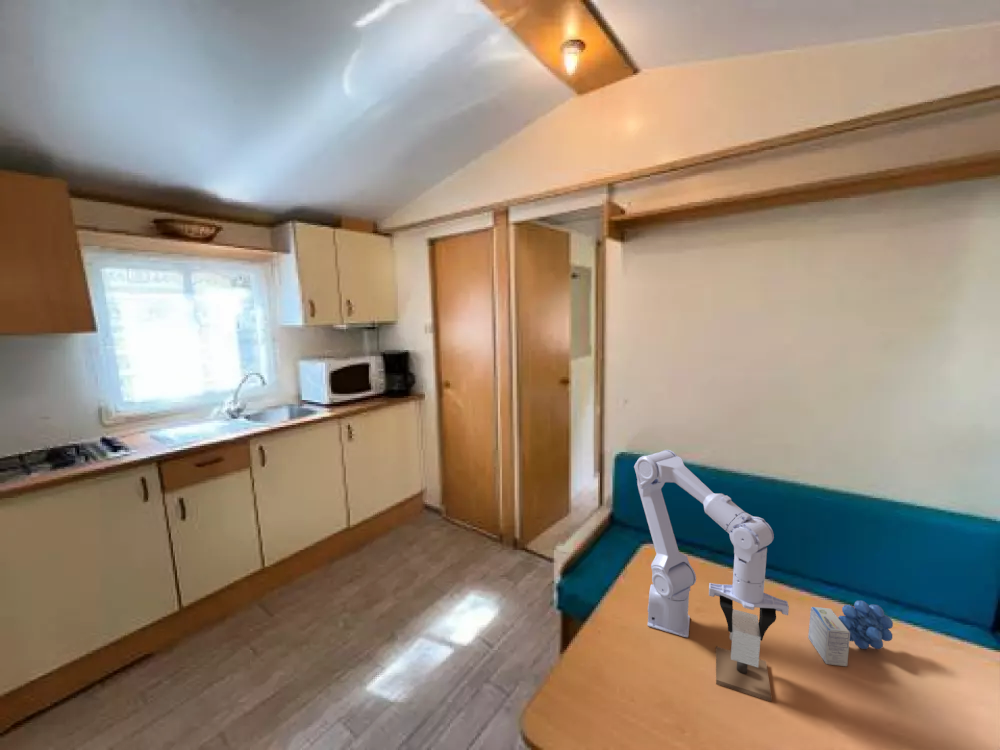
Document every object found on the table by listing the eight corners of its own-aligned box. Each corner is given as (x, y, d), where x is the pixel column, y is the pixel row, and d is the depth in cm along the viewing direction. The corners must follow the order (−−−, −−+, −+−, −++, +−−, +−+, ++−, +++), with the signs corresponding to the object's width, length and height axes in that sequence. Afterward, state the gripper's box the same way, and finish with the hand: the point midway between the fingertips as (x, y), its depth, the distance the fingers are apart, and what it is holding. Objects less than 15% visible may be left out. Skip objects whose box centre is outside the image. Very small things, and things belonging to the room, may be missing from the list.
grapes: (847, 661, 96) (853, 613, 94) (828, 638, 103) (833, 593, 101) (904, 665, 94) (911, 616, 93) (881, 641, 101) (887, 596, 99)
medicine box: (847, 667, 94) (851, 632, 93) (824, 664, 95) (828, 630, 94) (828, 640, 102) (831, 608, 101) (807, 638, 103) (810, 605, 101)
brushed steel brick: (730, 659, 90) (732, 629, 89) (729, 636, 96) (731, 608, 95) (758, 667, 88) (760, 637, 87) (755, 643, 94) (757, 615, 93)
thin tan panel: (716, 683, 91) (717, 667, 90) (715, 650, 100) (716, 634, 99) (771, 701, 87) (772, 684, 86) (765, 664, 95) (767, 649, 95)
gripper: (710, 577, 89) (707, 635, 91) (793, 596, 83) (787, 658, 85) (710, 559, 95) (707, 613, 98) (787, 575, 89) (782, 633, 91)
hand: (744, 633), depth 92 cm, fingers closed on brushed steel brick, 5 cm apart
